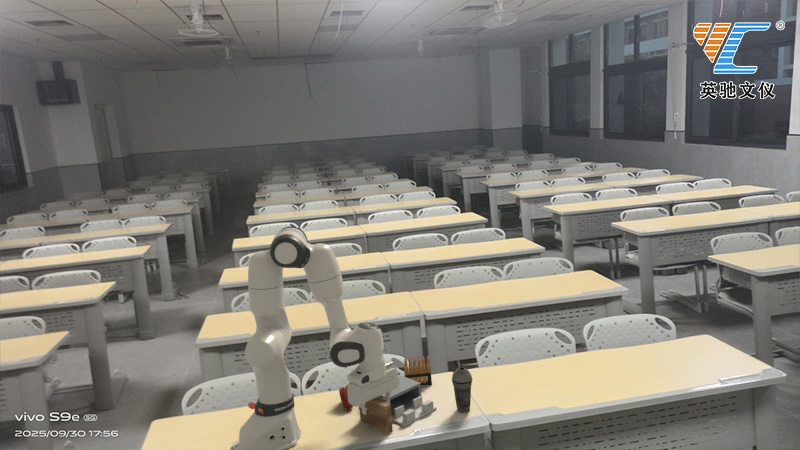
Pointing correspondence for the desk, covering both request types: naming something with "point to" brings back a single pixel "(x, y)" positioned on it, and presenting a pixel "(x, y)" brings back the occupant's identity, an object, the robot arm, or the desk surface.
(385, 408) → the door
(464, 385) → the beverage cup
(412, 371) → the ammunition clip
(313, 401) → the desk surface
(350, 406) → the teeth
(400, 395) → the cabinet
